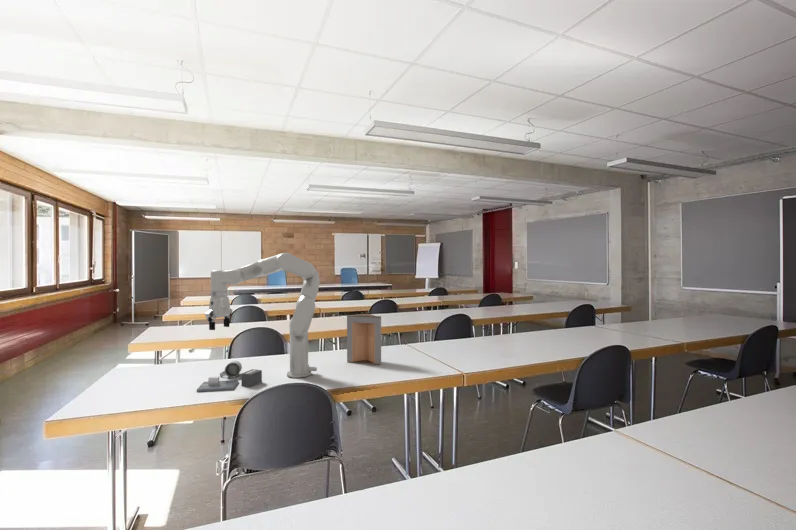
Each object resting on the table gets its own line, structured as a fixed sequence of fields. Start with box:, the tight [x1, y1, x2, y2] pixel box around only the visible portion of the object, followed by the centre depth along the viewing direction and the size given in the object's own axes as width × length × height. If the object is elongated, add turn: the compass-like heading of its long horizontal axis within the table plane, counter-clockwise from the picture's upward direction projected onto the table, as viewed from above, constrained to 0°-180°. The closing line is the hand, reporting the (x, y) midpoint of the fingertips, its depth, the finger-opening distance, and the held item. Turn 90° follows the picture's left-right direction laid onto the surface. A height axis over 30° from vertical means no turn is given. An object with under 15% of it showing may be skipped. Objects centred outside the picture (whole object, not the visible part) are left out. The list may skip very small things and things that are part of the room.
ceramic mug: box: [219, 360, 243, 378], centre depth 216 cm, size 11×8×8 cm
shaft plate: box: [196, 376, 239, 393], centre depth 197 cm, size 16×12×5 cm
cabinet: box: [346, 313, 382, 366], centre depth 244 cm, size 21×10×28 cm, turn 73°
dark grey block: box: [240, 368, 263, 388], centre depth 201 cm, size 8×6×6 cm
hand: (219, 328), depth 207 cm, fingers open, 9 cm apart
